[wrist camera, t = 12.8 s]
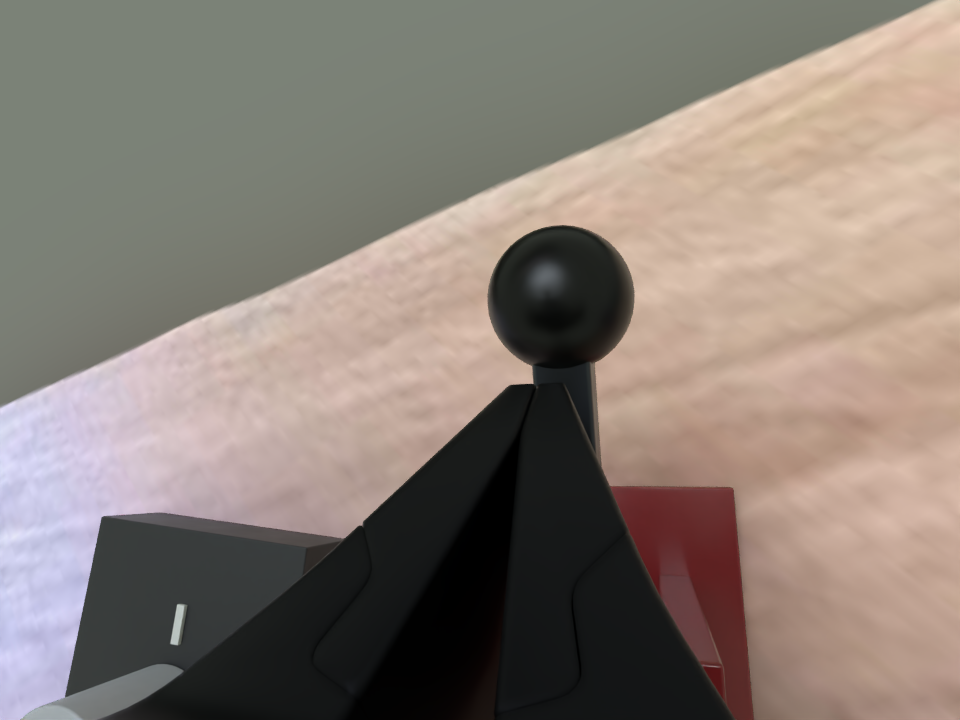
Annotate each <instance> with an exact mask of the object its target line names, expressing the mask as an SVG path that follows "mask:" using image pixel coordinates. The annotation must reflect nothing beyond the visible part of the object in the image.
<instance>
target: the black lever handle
mask: <svg viewBox="0 0 960 720" xmlns="http://www.w3.org/2000/svg"><path fill="white" fill-rule="evenodd" d="M633 308H634V286H633V281H632V277H631V273H630V271H629V269H628V266H627V264H626V263H625V261H624V259H623V258H622V256H621V255H620V254H619V252H618V251H617V250H616V249H615V248H614V247H613V246H612V245H611V244H610V243H609V242H608V241H606V240H605V239H604V238H602V237H601V236H599V235H597V234H595V233H593V232H592V231H589V230H586V229H583V228H580V227H575V226H566V225H559V226H550V227H545V228H541V229H538V230H535V231H533V232H531V233H529V234H527V235H525V236H523V237H522V238H520V239H519V240H517V241H516V242H515V243H514V244H512V245H511V246H510V247H509V248H508V249H507V250H506V252H505V253H504V254H503V255H502V257H501V258H500V260H499V261H498V263H497V265H496V267H495V269H494V271H493V274H492V276H491V279H490V283H489V288H488V310H489V316H490V320H491V323H492V326H493V328H494V330H495V332H496V334H497V336H498V338H499V339H500V341H501V342H502V343H503V345H504V346H505V347H506V348H507V349H508V350H509V351H510V352H511V353H512V354H513V355H515V356H516V357H517V358H518V359H520V360H522V361H523V362H525V363H527V364H529V365H531V366H532V369H533V383H534V385H535V386H536V387H537V385H539V384H542V383H564V384H565V386H566V388H567V390H568V392H569V395H570V397H571V399H572V401H573V404H574V406H575V408H576V410H577V413H578V415H579V417H580V420H581V422H582V424H583V426H584V429H585V431H586V433H587V436H588V438H589V440H590V442H591V445H592V447H593V449H594V452H595V454H596V456H597V458H598V461H599V463H600V465H601V452H600V437H599V422H598V407H597V391H596V376H595V362H597V361H599V360H601V359H602V358H603V357H605V356H606V355H607V354H609V353H610V352H611V351H612V350H613V349H614V348H615V347H616V345H617V344H618V343H619V342H620V340H621V339H622V337H623V336H624V334H625V332H626V331H627V328H628V326H629V324H630V321H631V318H632V314H633Z"/></svg>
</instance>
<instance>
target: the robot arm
mask: <svg viewBox="0 0 960 720" xmlns="http://www.w3.org/2000/svg"><path fill="white" fill-rule="evenodd" d="M97 720H736V719H735V718H734V716H733V715H732V713H731V711H730V710H729V708H728V707H727V705H726V703H725V702H724V700H723V699H722V697H721V695H720V694H719V692H718V691H717V689H716V687H715V686H714V684H713V683H712V681H711V679H710V678H709V676H708V675H707V673H706V671H705V670H704V668H703V667H702V665H701V663H700V662H699V660H698V659H697V657H696V656H695V654H694V652H693V651H692V649H691V648H690V646H689V644H688V643H687V641H686V640H685V638H684V636H683V635H682V633H681V631H680V630H679V628H678V626H677V624H676V623H675V621H674V619H673V617H672V616H671V614H670V612H669V610H668V609H667V607H666V605H665V603H664V602H663V600H662V598H661V597H660V595H659V593H658V591H657V589H656V587H655V585H654V583H653V581H652V579H651V576H650V574H649V572H648V570H647V568H646V566H645V564H644V562H643V560H642V558H641V556H640V553H639V551H638V549H637V547H636V544H635V542H634V540H633V538H632V536H631V535H630V532H629V529H628V527H627V525H626V522H625V520H624V518H623V515H622V513H621V511H620V509H619V506H618V504H617V502H616V499H615V497H614V495H613V493H612V490H611V488H610V486H609V484H608V481H607V479H606V477H605V474H604V472H603V470H602V468H601V465H600V463H599V461H598V458H597V456H596V454H595V452H594V449H593V447H592V445H591V442H590V440H589V438H588V436H587V433H586V431H585V429H584V426H583V424H582V422H581V420H580V417H579V415H578V413H577V410H576V408H575V406H574V404H573V401H572V399H571V397H570V395H569V392H568V390H567V388H566V386H565V384H564V383H542V384H539V385H537V387H536V386H535V385H534V384H519V385H510V386H508V387H507V388H506V389H505V390H504V391H503V392H501V393H500V394H499V395H498V396H497V397H496V398H495V399H494V400H493V401H492V402H491V403H490V404H489V405H488V406H486V407H485V408H484V409H483V410H482V411H481V412H480V413H479V414H478V415H477V416H476V417H475V418H474V419H473V420H472V421H470V422H469V423H468V424H467V425H466V426H465V427H464V428H463V429H462V430H461V431H460V432H459V433H458V434H457V435H455V436H454V437H453V438H452V439H451V440H450V441H449V442H448V443H447V444H446V445H445V446H444V447H443V448H442V449H440V450H439V451H438V452H437V453H436V454H435V455H434V456H433V457H432V458H431V459H430V460H429V461H428V462H427V463H425V464H424V465H423V466H422V467H421V468H420V469H419V470H418V471H417V472H416V473H415V474H414V475H413V476H412V477H410V478H409V479H408V480H407V481H406V482H405V483H404V484H403V485H402V486H401V487H400V488H399V489H398V490H397V491H396V492H394V493H393V494H392V495H391V496H390V497H389V498H388V499H387V500H386V501H385V502H384V503H383V504H382V505H381V506H379V507H378V508H377V509H376V510H375V511H374V512H373V513H372V514H371V515H370V516H369V517H368V518H367V519H366V520H364V522H363V527H362V526H358V527H357V528H356V529H355V530H353V531H352V532H351V533H350V534H349V535H348V536H347V537H346V538H345V539H344V540H343V541H342V542H341V543H340V544H338V545H337V546H336V547H335V548H334V549H333V550H332V551H331V552H329V553H328V554H327V555H326V556H325V557H324V558H323V559H322V560H321V561H319V562H318V563H317V564H316V565H315V566H314V567H313V568H312V569H310V570H309V571H308V572H307V573H306V574H305V575H303V576H302V577H301V578H300V579H298V580H297V581H296V582H295V583H294V584H292V585H291V586H290V587H289V588H288V589H286V590H285V591H284V592H283V593H281V594H280V595H279V596H278V597H277V598H275V599H274V600H273V601H272V602H270V603H269V604H268V605H267V606H265V607H264V608H263V609H262V610H260V611H259V612H258V613H257V614H255V615H254V616H253V617H252V618H250V619H249V620H248V621H247V622H245V623H244V624H243V625H241V626H240V627H239V628H238V629H236V630H235V631H234V632H233V633H231V634H230V635H229V636H228V637H226V638H225V639H224V640H223V641H221V642H220V643H219V644H217V645H216V646H215V647H214V648H212V649H211V650H210V651H209V652H207V653H206V654H205V655H204V656H202V657H201V658H200V659H199V660H197V661H196V662H195V663H193V664H192V665H191V666H190V667H188V668H187V669H186V670H185V671H183V672H182V673H181V674H179V675H178V676H177V677H175V678H174V679H173V680H171V681H170V682H169V683H167V684H166V685H165V686H163V687H162V688H160V689H158V690H157V691H155V692H154V693H152V694H151V695H149V696H147V697H146V698H144V699H142V700H140V701H138V702H137V703H135V704H133V705H131V706H129V707H127V708H125V709H122V710H120V711H118V712H115V713H113V714H111V715H108V716H106V717H103V718H100V719H97Z"/></svg>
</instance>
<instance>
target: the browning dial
mask: <svg viewBox="0 0 960 720" xmlns="http://www.w3.org/2000/svg"><path fill="white" fill-rule="evenodd" d="M183 671H184V670H182V669H180V668H178V667H176V666H173V665H168V664H156V665H152V666H149V667H146V668H144V669H141V670H138V671H135V672H133V673H130V674H127V675H125V676H122V677H119V678H117V679H114V680H111V681H108V682H106V683H103V684H100V685H98V686H95V687H92V688H89V689H87V690H84V691H81V692H79V693H76V694H73V695H70V696H68V697H65V698H62V699H60V700H57V701H54V702H52V703H49V704H46V705H43V706H41V707H38V708H36V709H34V710H32V711H31V712H29V713H28V714H27V715H25V716H24V717H23V718H22V719H21V720H97V719H100V718H103V717H106V716H108V715H111V714H113V713H115V712H118V711H120V710H122V709H125V708H127V707H129V706H131V705H133V704H135V703H137V702H138V701H140V700H142V699H144V698H146V697H147V696H149V695H151V694H152V693H154V692H155V691H157V690H158V689H160V688H162V687H163V686H165V685H166V684H167V683H169V682H170V681H171V680H173V679H174V678H175V677H177V676H178V675H179V674H181V673H182V672H183Z"/></svg>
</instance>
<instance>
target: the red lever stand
mask: <svg viewBox="0 0 960 720" xmlns="http://www.w3.org/2000/svg"><path fill="white" fill-rule="evenodd" d="M610 488H611V490H612V493H613V495H614V497H615V499H616V502H617V504H618V506H619V509H620V511H621V513H622V515H623V518H624V520H625V522H626V525H627V527H628V529H629V532H630V535H631V536H632V538H633V540H634V542H635V544H636V547H637V549H638V551H639V553H640V556H641V558H642V560H643V562H644V564H645V566H646V568H647V570H648V572H649V574H650V576H651V579H652V581H653V583H654V585H655V587H656V589H657V591H658V593H659V595H660V597H661V598H662V600H663V602H664V603H665V605H666V607H667V609H668V610H669V612H670V614H671V616H672V617H673V619H674V621H675V623H676V624H677V626H678V628H679V630H680V631H681V633H682V635H683V636H684V638H685V640H686V641H687V643H688V644H689V646H690V648H691V649H692V651H693V652H694V654H695V656H696V657H697V659H698V660H699V662H700V663H701V665H702V667H703V668H704V670H705V671H706V673H707V675H708V676H709V678H710V679H711V681H712V683H713V684H714V686H715V687H716V689H717V691H718V692H719V694H720V695H721V697H722V699H723V700H724V702H725V703H726V705H727V707H728V708H729V710H730V711H731V713H732V715H733V716H734V718H735V719H736V720H754V716H753V705H752V693H751V682H750V671H749V659H748V648H747V637H746V625H745V614H744V603H743V591H742V580H741V569H740V557H739V546H738V535H737V523H736V512H735V501H734V490H733V488H731V487H657V486H610Z"/></svg>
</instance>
